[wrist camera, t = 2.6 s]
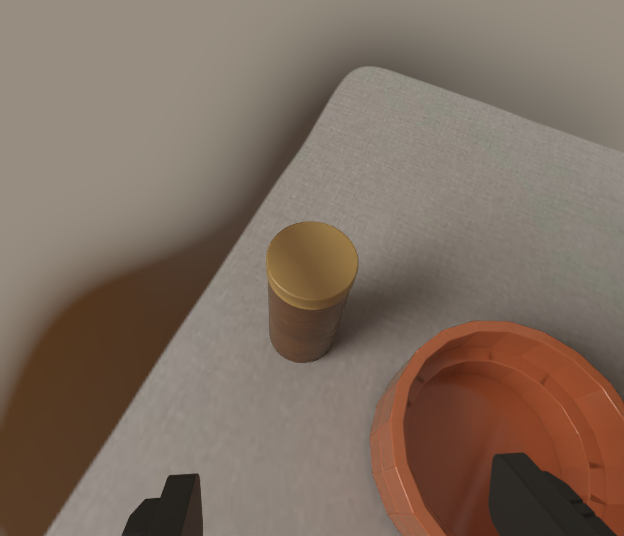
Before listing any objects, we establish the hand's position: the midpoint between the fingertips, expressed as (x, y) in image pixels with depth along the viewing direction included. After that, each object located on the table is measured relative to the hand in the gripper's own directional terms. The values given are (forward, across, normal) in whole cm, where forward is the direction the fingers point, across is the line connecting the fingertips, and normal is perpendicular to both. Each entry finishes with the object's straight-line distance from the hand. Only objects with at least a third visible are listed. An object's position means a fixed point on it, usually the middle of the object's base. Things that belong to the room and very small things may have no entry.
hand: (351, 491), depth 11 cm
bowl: (+13, +10, -9) cm, 19 cm away
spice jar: (+19, 0, -2) cm, 19 cm away
